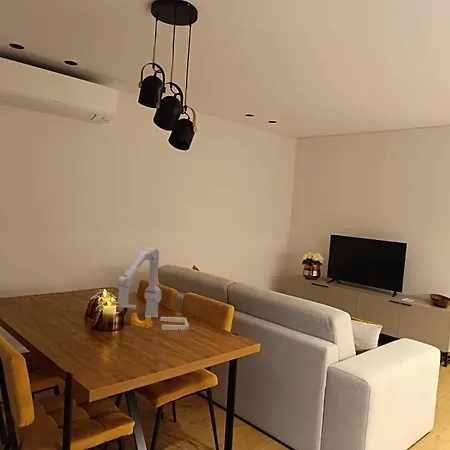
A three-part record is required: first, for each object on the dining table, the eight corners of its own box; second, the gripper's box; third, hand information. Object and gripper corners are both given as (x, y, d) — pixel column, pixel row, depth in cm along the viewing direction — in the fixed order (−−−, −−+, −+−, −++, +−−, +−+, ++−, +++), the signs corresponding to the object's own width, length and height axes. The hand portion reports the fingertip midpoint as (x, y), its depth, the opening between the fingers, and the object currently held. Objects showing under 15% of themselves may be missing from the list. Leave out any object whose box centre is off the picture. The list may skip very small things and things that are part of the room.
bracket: (160, 321, 258) (160, 316, 258) (185, 321, 261) (185, 317, 261) (161, 329, 241) (162, 325, 241) (188, 330, 244) (188, 326, 244)
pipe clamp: (152, 326, 246) (153, 315, 245) (147, 328, 242) (148, 317, 241) (135, 322, 251) (136, 312, 250) (130, 324, 247) (131, 313, 246)
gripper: (109, 298, 239) (108, 322, 240) (136, 299, 242) (134, 323, 243) (110, 295, 246) (109, 319, 247) (136, 296, 249) (134, 319, 250)
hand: (121, 320), depth 245 cm, fingers closed
